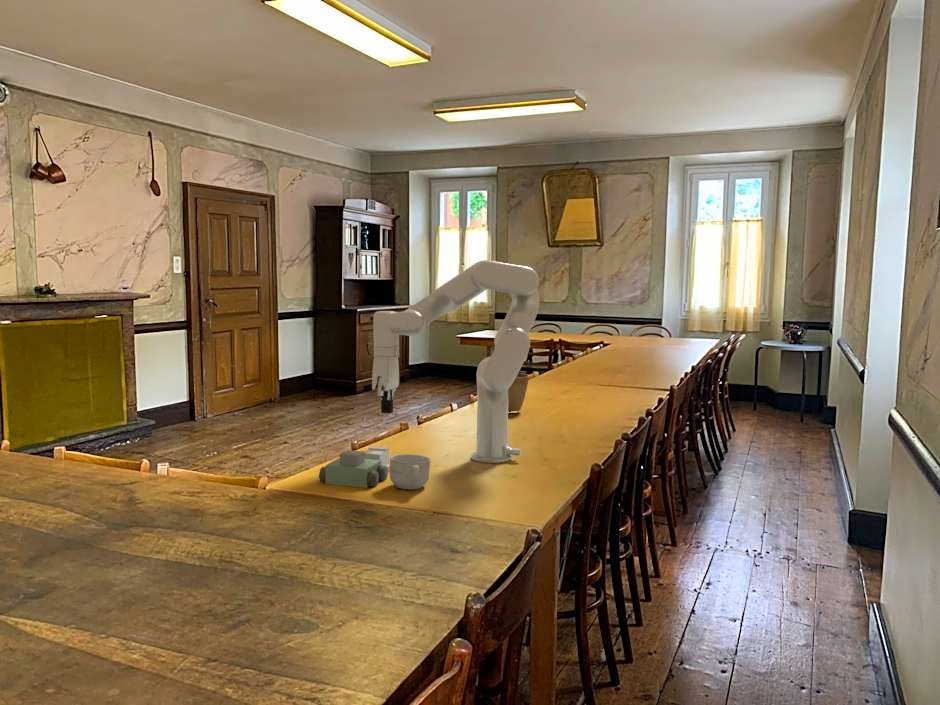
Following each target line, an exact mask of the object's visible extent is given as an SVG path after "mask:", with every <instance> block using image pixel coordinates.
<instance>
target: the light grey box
mask: <svg viewBox="0 0 940 705" xmlns="http://www.w3.org/2000/svg"><path fill="white" fill-rule="evenodd" d="M365 459H373V460H381V465H384V466H386V465H390V447H386V446H375V445H374V446H373V445H371V446H370V447H368V449H367V450H365Z"/></svg>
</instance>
